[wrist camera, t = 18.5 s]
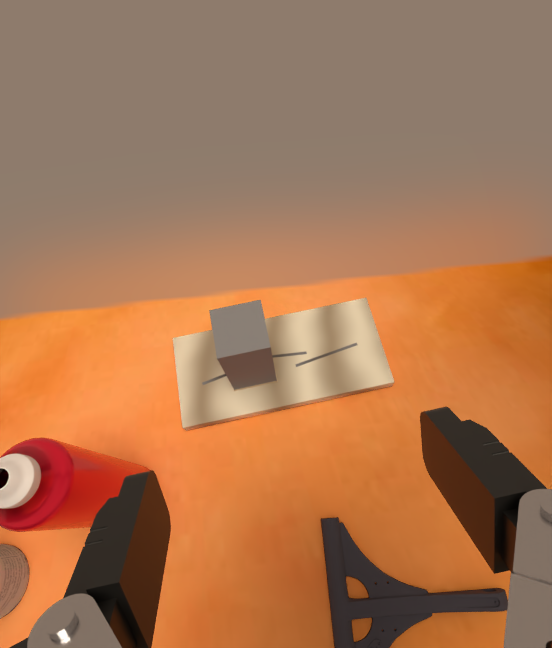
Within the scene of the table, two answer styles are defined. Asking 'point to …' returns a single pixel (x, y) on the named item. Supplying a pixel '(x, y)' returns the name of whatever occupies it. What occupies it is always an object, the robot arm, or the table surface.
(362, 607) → the squeegee
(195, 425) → the board
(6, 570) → the spray paint can
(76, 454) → the bottle
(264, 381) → the block
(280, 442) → the table surface
